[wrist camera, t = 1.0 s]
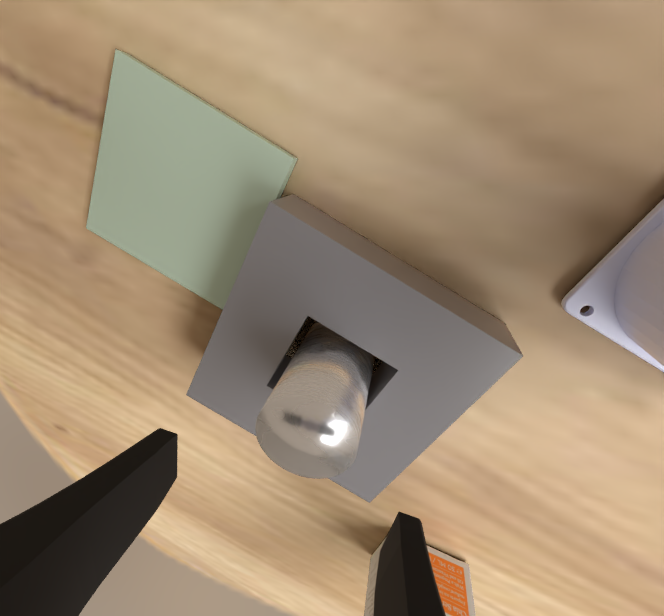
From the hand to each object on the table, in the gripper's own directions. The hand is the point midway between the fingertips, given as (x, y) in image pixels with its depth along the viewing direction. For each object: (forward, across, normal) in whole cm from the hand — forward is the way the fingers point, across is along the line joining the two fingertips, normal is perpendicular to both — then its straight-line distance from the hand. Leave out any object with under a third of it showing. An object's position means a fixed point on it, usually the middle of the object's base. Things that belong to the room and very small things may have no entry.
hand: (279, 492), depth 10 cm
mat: (+9, +10, -6) cm, 15 cm away
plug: (+9, 0, 0) cm, 9 cm away
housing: (+9, 0, 0) cm, 9 cm away
